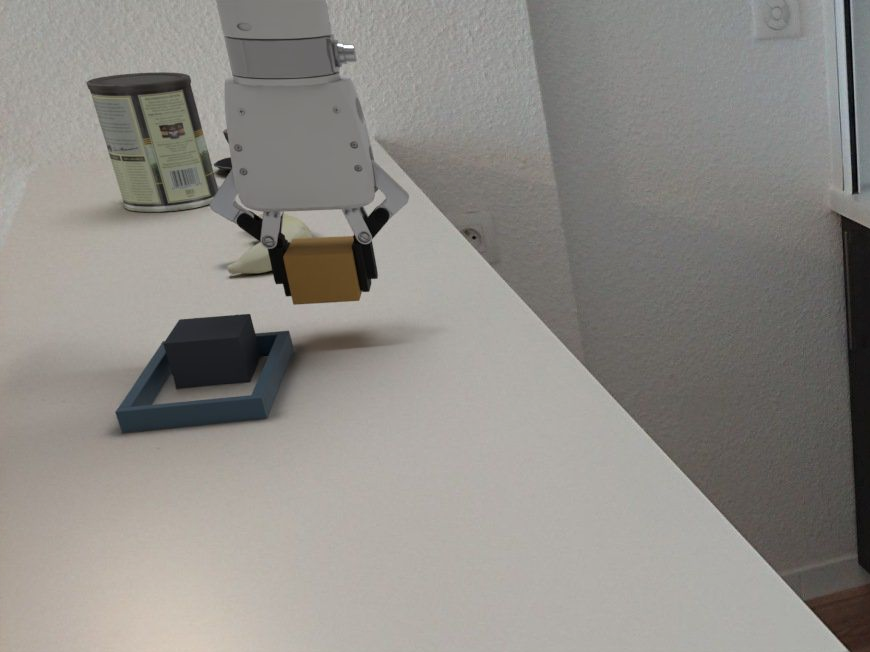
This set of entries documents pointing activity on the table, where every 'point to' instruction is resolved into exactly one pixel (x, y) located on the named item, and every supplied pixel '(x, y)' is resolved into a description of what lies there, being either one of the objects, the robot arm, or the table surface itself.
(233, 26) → the robot arm
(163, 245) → the table surface
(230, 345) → the dark gray block
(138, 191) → the coffee can
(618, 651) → the table surface
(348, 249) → the orange block
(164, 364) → the frame
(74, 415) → the table surface
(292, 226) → the fruit
